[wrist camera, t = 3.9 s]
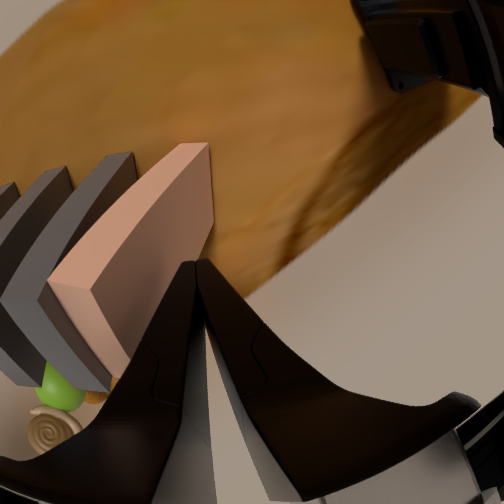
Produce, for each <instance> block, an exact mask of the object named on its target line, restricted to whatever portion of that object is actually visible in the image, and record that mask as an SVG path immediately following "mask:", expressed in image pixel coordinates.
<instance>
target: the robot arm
mask: <svg viewBox="0 0 504 504" xmlns="http://www.w3.org/2000/svg"><path fill="white" fill-rule="evenodd" d="M353 2H354V3H355V5H356V7H357V9H358V11H359V13H360V15H361V17H362V19H363V21H364V23H365V27H366V29H367V31H368V34H369V36H370V38H371V40H372V43H373V45H374V47H375V50H376V52H377V55H378V57H379V60H380V62H381V65H382V66H383V68H384V71H385V73H386V76H387V79H388V82H389V85H390V87H391V89H392V90H393V91H394V92H397V93H404V92H406V91H409V90H411V89H413V88H415V87H418V86H420V85H422V84H424V83H427V82H429V81H431V80H438V81H442V82H445V83H449V84H452V85H455V86H459V87H462V88H465V89H468V90H471V91H474V92H476V93H479V94H482V95H484V96H487V97H489V99H490V105H491V110H492V116H493V123H494V127H493V133H494V138H495V140H496V141H497V142H498V143H499V144H500V145H501V146H502V147H503V148H504V0H353ZM398 82H399V87H397V84H398ZM204 321H205V323H204ZM205 326H206V330H207V333H208V336H209V340H210V343H211V346H212V349H213V353H214V356H215V359H216V362H217V365H218V368H219V371H220V374H221V377H222V380H223V383H224V386H225V389H226V392H227V394H228V397H229V400H230V403H231V406H232V409H233V411H234V414H235V417H236V419H237V422H238V425H239V427H240V430H241V433H242V435H243V437H244V440H245V443H246V446H247V448H248V451H249V453H250V455H251V458H252V460H253V463H254V465H255V467H256V470H257V472H258V475H259V477H260V479H261V482H262V484H263V486H264V488H265V490H266V493H267V495H268V497H269V500H270V501H282V502H290V503H291V504H500V503H501V501H504V391H502V392H501V393H500V394H499V395H498V396H496V397H495V398H494V399H493V400H491V401H490V402H489V403H488V404H486V405H485V406H484V407H483V408H481V409H480V410H479V411H478V412H476V411H477V410H478V409H479V408H480V406H481V404H480V403H479V402H478V401H477V400H475V399H474V398H472V397H470V396H468V395H465V394H462V393H458V392H452V393H450V394H448V395H447V396H445V397H443V398H442V399H440V400H438V401H437V402H435V403H433V404H430V405H426V406H409V405H403V404H399V403H394V402H390V401H385V400H381V399H377V398H373V397H369V396H365V395H361V394H357V393H354V392H350V391H347V390H345V389H343V388H341V387H339V386H337V385H336V384H334V383H333V382H331V381H330V380H328V379H327V378H326V377H325V376H323V375H322V374H321V373H320V372H318V371H317V370H316V369H315V368H313V367H312V366H311V365H310V364H308V363H307V362H306V361H304V360H303V359H302V358H301V357H300V356H298V355H297V354H296V353H295V352H294V351H293V350H291V349H290V348H289V347H288V346H287V345H286V344H285V343H284V342H283V341H281V339H279V337H278V336H277V335H276V334H275V333H274V332H273V331H272V330H271V329H270V328H269V327H268V326H267V325H266V324H265V323H264V322H263V321H262V320H261V318H260V317H259V316H258V315H257V314H256V313H255V312H254V310H253V309H252V308H251V307H250V306H249V305H248V304H247V302H246V301H245V300H244V299H243V298H242V297H241V296H240V295H239V293H238V292H237V291H236V290H235V289H234V288H233V287H232V285H231V284H230V283H229V282H228V281H227V280H226V278H225V277H224V276H223V275H222V274H221V273H220V271H219V270H218V269H217V268H216V267H215V266H214V264H213V263H212V262H211V261H210V260H209V259H208V258H204V259H197V260H196V261H194V260H190V261H183V262H182V263H181V264H180V266H179V268H178V270H177V271H176V273H175V275H174V277H173V279H172V281H171V282H170V284H169V286H168V288H167V290H166V292H165V294H164V295H163V297H162V299H161V301H160V303H159V305H158V307H157V309H156V311H155V313H154V315H153V317H152V319H151V320H150V322H149V324H148V326H147V328H146V330H145V332H144V334H143V336H142V338H141V340H142V341H140V342H139V344H138V346H137V348H136V350H135V352H134V354H133V356H132V358H131V360H130V362H129V364H128V366H127V367H126V369H125V371H124V372H123V374H122V376H121V377H120V379H119V381H118V382H117V384H116V385H115V387H114V389H113V390H112V392H111V393H110V395H109V397H108V398H107V400H106V401H105V403H104V405H103V406H102V408H101V410H100V411H99V413H98V415H97V416H96V417H95V418H94V420H93V421H92V422H91V423H90V424H89V425H88V426H87V427H86V428H85V429H83V430H81V431H80V432H78V433H76V434H75V435H73V436H72V437H70V438H68V439H67V440H65V441H63V442H62V443H60V444H58V445H57V446H55V447H53V448H52V449H50V450H48V451H46V452H45V453H43V454H41V455H39V456H37V457H35V458H33V459H30V460H26V461H16V460H13V459H10V458H7V457H4V456H0V485H1V486H4V487H6V488H8V489H10V490H13V491H15V492H18V493H20V494H23V495H26V496H28V497H31V498H34V499H37V500H38V501H37V500H34V499H31V498H28V497H26V496H23V495H20V494H18V493H15V492H13V491H10V490H8V489H5V488H3V487H0V504H217V499H216V490H215V481H214V471H213V460H212V451H211V437H210V424H209V410H208V409H209V408H208V392H207V372H206V371H207V370H206V343H205V341H206V340H205ZM475 412H476V413H475ZM473 413H475V414H474V415H472V414H473ZM471 415H472V416H471ZM470 416H471V417H470ZM469 417H470V418H469ZM467 418H469V419H468V420H466V419H467ZM465 420H466V421H465ZM463 421H465V422H464V423H463V424H461V423H462V422H463ZM460 424H461V425H460ZM458 425H460V426H458ZM457 426H458V427H457ZM456 427H457V428H456ZM455 428H456V429H455Z"/></svg>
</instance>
